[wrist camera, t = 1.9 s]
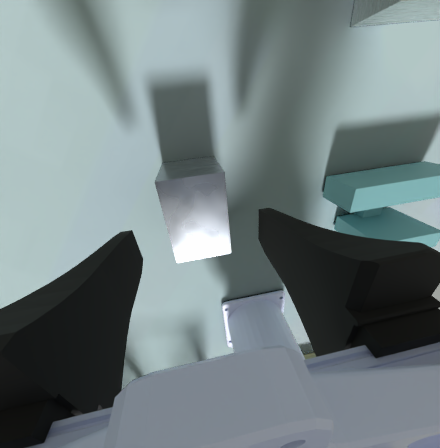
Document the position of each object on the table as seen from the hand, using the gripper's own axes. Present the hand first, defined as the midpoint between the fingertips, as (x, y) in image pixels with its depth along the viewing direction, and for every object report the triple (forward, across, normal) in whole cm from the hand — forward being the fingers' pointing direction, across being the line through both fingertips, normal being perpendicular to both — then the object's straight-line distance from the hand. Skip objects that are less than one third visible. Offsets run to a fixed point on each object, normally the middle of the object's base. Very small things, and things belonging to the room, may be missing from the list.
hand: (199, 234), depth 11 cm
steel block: (+7, 0, 0) cm, 7 cm away
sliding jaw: (+6, -17, +3) cm, 18 cm away
